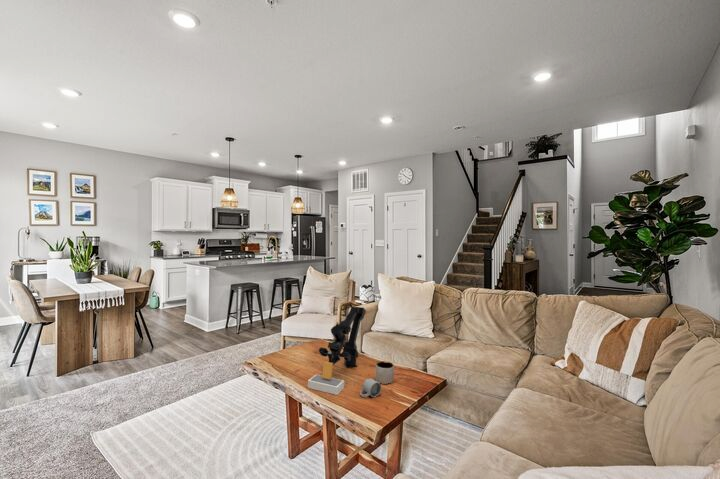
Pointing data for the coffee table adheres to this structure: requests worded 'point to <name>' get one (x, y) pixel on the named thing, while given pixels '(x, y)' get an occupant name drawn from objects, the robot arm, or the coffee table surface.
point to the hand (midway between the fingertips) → (329, 368)
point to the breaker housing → (326, 384)
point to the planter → (384, 372)
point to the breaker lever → (327, 370)
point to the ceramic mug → (371, 388)
